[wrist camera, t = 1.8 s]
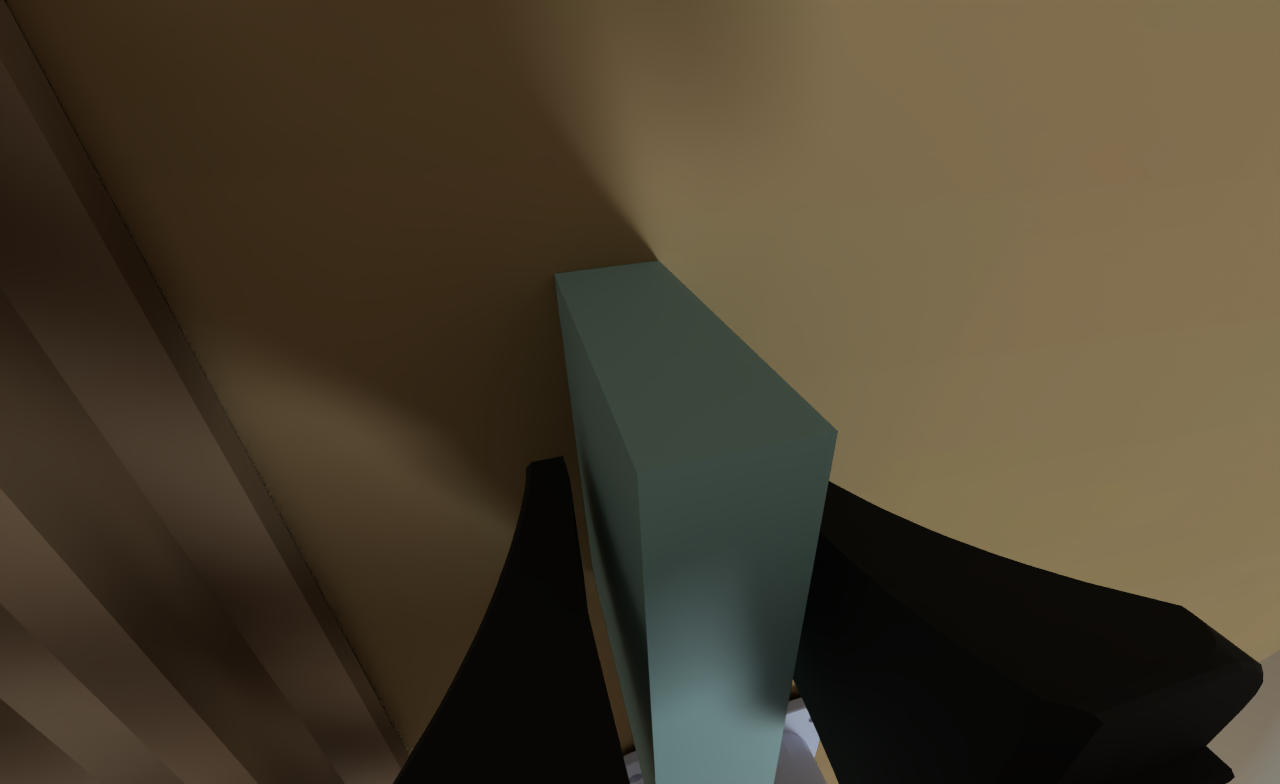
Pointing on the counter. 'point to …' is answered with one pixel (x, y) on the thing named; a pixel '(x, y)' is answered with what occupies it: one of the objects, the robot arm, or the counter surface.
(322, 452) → the counter surface
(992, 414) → the counter surface
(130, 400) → the track
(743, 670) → the teal rectangular block
